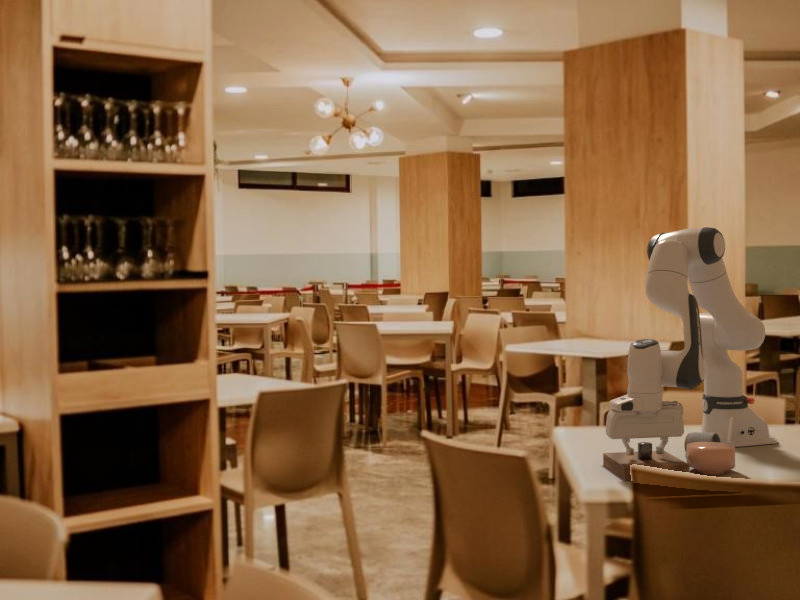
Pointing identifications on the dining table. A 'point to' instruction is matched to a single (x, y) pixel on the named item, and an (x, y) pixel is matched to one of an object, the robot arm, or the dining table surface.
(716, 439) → the ceramic mug
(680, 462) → the lid
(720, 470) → the bowl
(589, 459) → the dining table surface
